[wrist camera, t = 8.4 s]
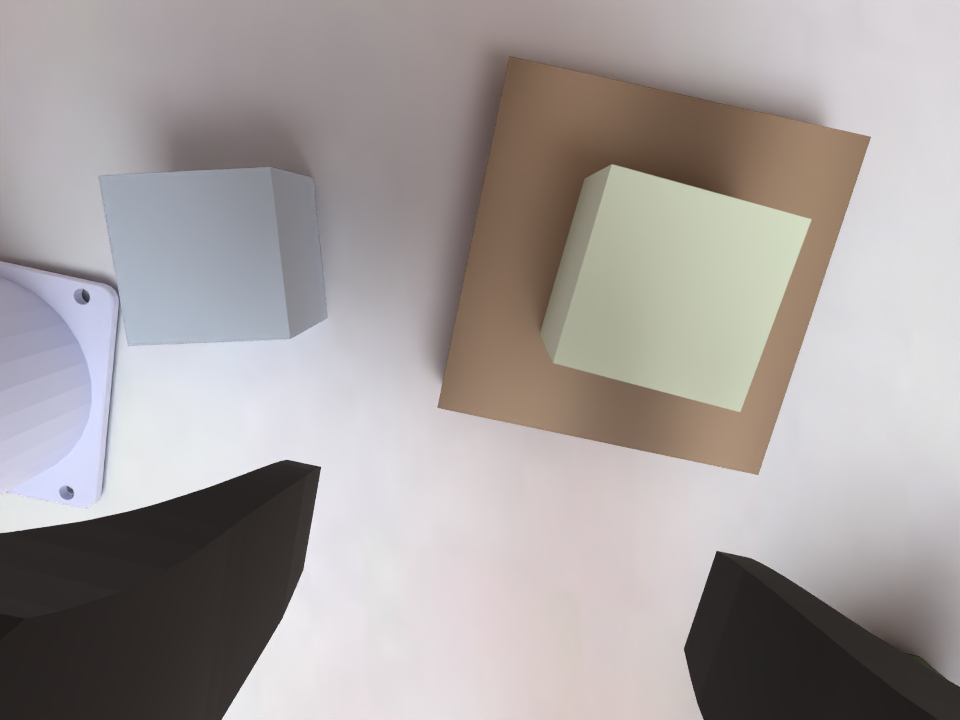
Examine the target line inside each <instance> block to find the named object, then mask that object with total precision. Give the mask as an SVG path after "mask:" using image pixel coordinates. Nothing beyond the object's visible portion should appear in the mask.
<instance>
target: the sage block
mask: <svg viewBox="0 0 960 720" xmlns="http://www.w3.org/2000/svg"><path fill="white" fill-rule="evenodd" d="M811 220H812V219H809V218H805V217H802V216H798V215H794V214H791V213H787V212H784V211H780V210H776V209H773V208H769V207H765V206H762V205H758V204H755V203H751V202H747V201H744V200H740V199H736V198H733V197H729V196H726V195H722V194H718V193H715V192H711V191H707V190H704V189H700V188H697V187H693V186H689V185H686V184H682V183H678V182H675V181H671V180H668V179H664V178H660V177H657V176H653V175H649V174H646V173H642V172H639V171H635V170H631V169H628V168H624V167H620V166H617V165H613V164H611V165H609V166H607V167H606V168H604V169H602V170H600V171H598V172H596V173H594V174H592V175H590V176H589V177H587V178H585V179H584V182H583V185H582V189H581V192H580V196H579V199H578V203H577V206H576V210H575V213H574V217H573V220H572V224H571V227H570V231H569V234H568V237H567V241H566V244H565V248H564V251H563V255H562V258H561V262H560V265H559V269H558V272H557V276H556V279H555V282H554V286H553V289H552V293H551V296H550V300H549V303H548V307H547V310H546V314H545V317H544V321H543V324H542V328H541V331H540V335H541V338H542V340H543V342H544V344H545V346H546V349H547V351H548V353H549V355H550V358H551V360H552V362H553V363H555V364H559V365H562V366H566V367H570V368H574V369H578V370H581V371H585V372H589V373H593V374H597V375H600V376H604V377H608V378H612V379H616V380H619V381H623V382H627V383H631V384H635V385H638V386H642V387H646V388H650V389H654V390H657V391H661V392H665V393H669V394H673V395H676V396H680V397H684V398H688V399H692V400H695V401H699V402H703V403H707V404H711V405H714V406H718V407H722V408H726V409H730V410H733V411H737V412H741V409H742V406H743V404H744V401H745V398H746V396H747V393H748V390H749V387H750V385H751V382H752V379H753V377H754V374H755V371H756V369H757V366H758V363H759V360H760V358H761V355H762V352H763V350H764V347H765V344H766V341H767V339H768V336H769V333H770V331H771V328H772V325H773V323H774V320H775V317H776V314H777V312H778V309H779V306H780V304H781V301H782V298H783V296H784V293H785V290H786V287H787V285H788V282H789V279H790V277H791V274H792V271H793V268H794V266H795V263H796V260H797V258H798V255H799V252H800V250H801V247H802V244H803V241H804V239H805V236H806V233H807V231H808V228H809V225H810V223H811Z"/></svg>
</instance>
